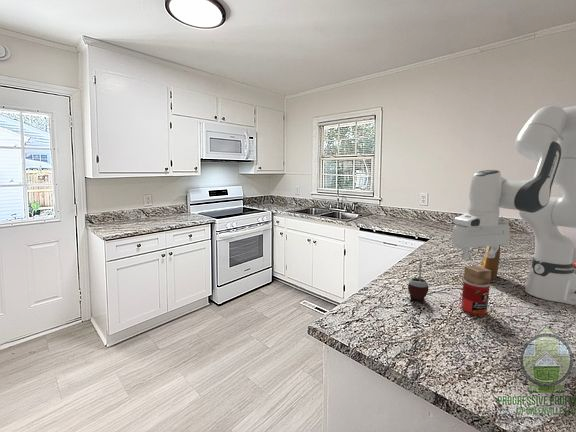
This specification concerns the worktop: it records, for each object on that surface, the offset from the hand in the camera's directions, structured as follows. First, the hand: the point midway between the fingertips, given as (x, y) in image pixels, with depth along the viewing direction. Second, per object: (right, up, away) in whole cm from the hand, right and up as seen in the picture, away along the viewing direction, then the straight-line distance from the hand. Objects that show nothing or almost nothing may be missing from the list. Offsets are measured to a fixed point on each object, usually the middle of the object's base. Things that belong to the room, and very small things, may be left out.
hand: (479, 258), depth 103 cm
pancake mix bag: (+28, -14, +36) cm, 47 cm away
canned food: (0, -19, +3) cm, 19 cm away
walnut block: (0, -8, +1) cm, 8 cm away
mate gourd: (-16, -18, +12) cm, 27 cm away
